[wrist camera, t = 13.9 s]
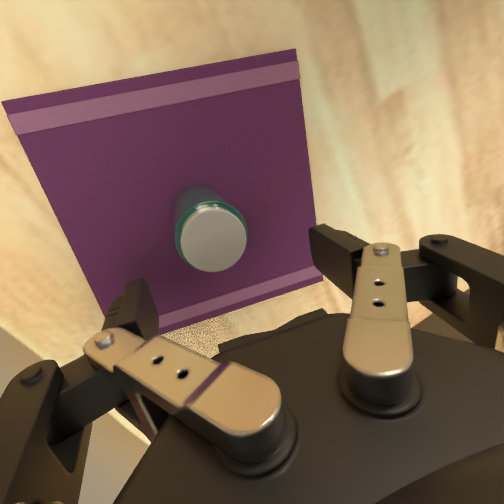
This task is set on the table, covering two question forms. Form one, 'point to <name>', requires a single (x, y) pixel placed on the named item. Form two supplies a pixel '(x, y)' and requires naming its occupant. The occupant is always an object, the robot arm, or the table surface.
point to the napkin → (178, 179)
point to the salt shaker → (207, 228)
